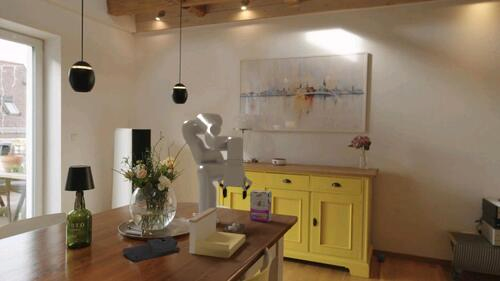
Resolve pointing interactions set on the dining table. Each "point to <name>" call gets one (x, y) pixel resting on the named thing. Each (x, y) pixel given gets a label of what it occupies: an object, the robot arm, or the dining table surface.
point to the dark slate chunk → (152, 249)
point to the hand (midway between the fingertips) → (234, 198)
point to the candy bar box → (260, 205)
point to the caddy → (234, 228)
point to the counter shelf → (212, 236)
